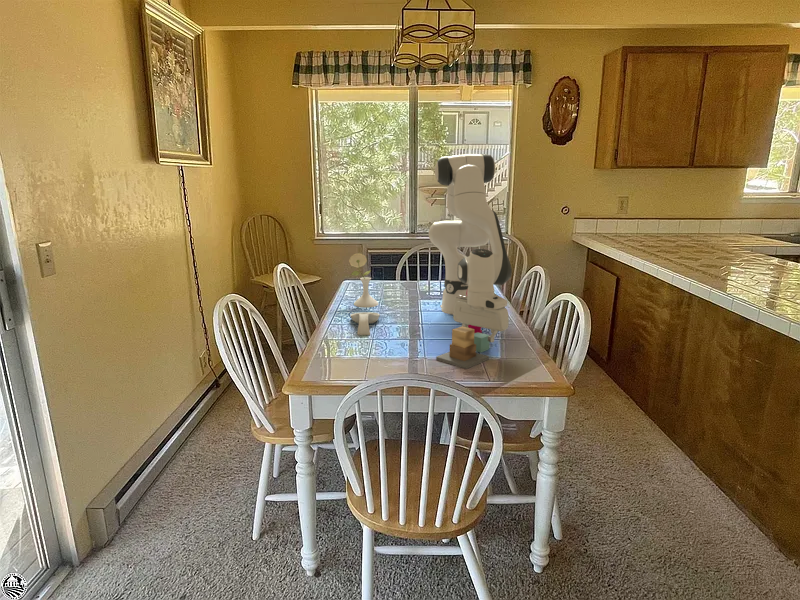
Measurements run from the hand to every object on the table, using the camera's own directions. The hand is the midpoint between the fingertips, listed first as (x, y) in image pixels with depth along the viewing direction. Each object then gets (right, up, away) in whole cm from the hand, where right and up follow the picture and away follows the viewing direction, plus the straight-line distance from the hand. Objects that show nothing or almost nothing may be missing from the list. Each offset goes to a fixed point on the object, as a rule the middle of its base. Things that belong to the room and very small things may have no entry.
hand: (479, 338), depth 171 cm
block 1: (-7, -1, -10) cm, 12 cm away
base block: (-7, -5, -9) cm, 12 cm away
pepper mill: (0, 0, +17) cm, 17 cm away
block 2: (0, -4, +1) cm, 4 cm away
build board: (-7, -6, -8) cm, 12 cm away
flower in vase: (-43, +9, +56) cm, 71 cm away
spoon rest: (-41, +2, +27) cm, 49 cm away
